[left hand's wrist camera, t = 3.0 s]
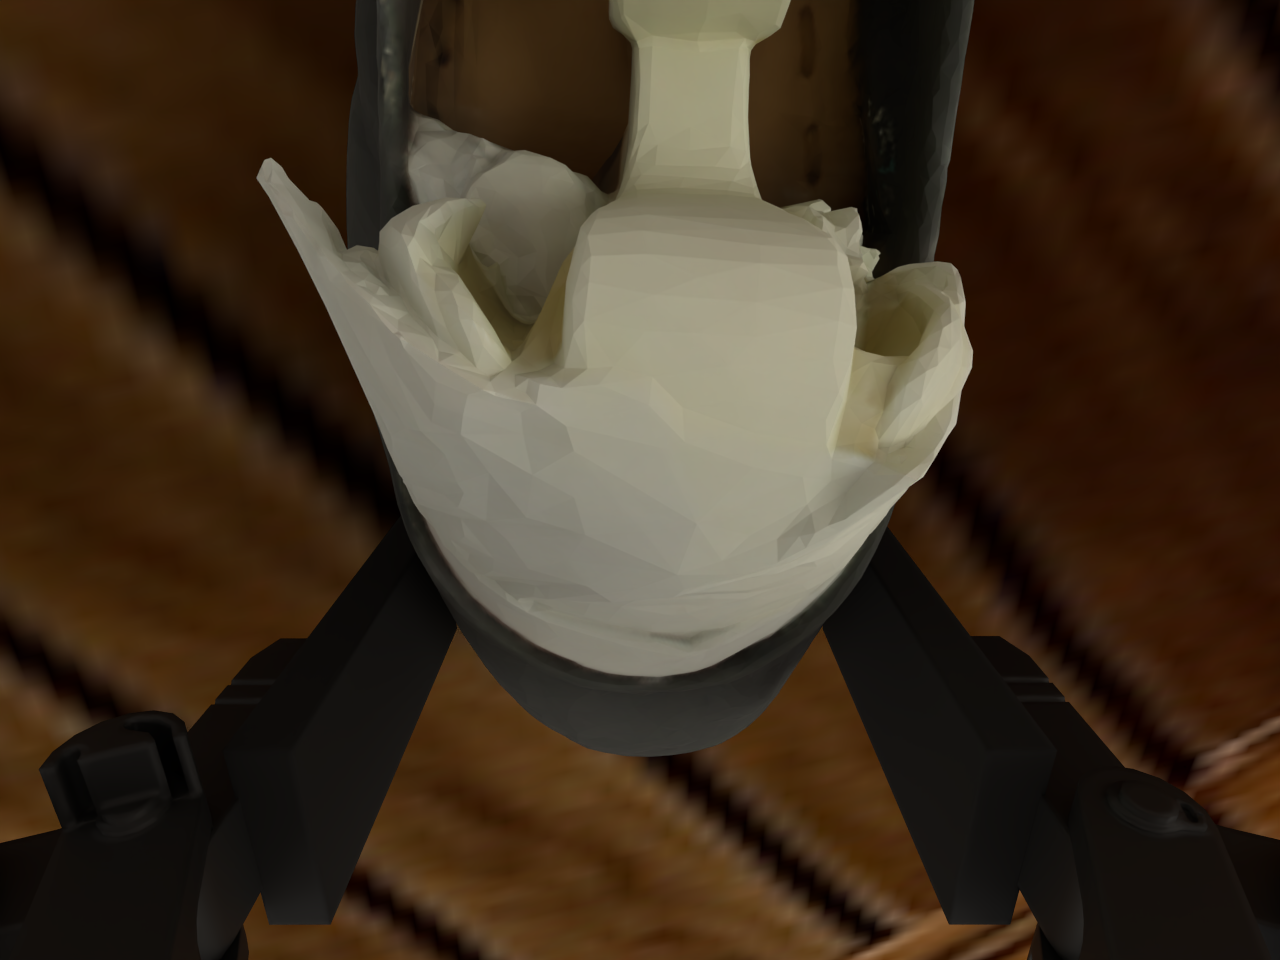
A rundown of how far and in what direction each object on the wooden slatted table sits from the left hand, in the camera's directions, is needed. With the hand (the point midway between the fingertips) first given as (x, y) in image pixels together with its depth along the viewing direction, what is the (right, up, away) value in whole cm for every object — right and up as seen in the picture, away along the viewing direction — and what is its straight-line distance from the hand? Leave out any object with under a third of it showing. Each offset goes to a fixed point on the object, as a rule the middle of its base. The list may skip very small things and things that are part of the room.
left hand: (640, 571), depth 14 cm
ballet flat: (0, +8, -3) cm, 8 cm away
